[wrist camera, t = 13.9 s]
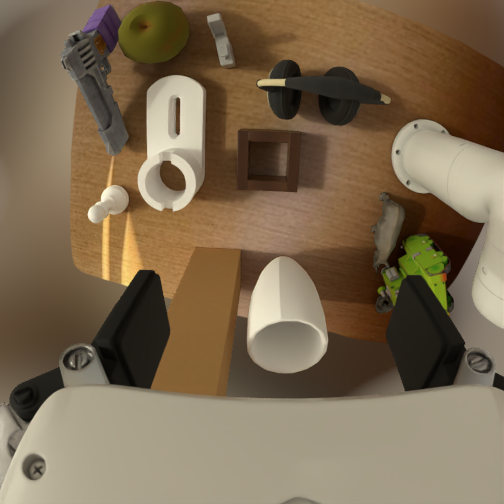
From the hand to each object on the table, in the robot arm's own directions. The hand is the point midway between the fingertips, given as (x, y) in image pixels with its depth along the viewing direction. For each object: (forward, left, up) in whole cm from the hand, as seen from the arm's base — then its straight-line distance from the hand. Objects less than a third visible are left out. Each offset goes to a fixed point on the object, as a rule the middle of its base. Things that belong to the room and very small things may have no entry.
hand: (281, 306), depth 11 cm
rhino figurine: (-19, +13, -38) cm, 45 cm away
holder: (0, +2, -38) cm, 38 cm away
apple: (+17, -18, -39) cm, 46 cm away
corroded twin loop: (-25, +26, -39) cm, 53 cm away
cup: (-3, +19, -39) cm, 43 cm away
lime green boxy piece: (-31, +16, -32) cm, 47 cm away
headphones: (-5, -9, -39) cm, 40 cm away
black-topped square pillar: (+8, +21, -38) cm, 45 cm away
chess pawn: (+26, +9, -39) cm, 47 cm away
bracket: (+15, -1, -39) cm, 41 cm away
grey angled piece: (+7, -16, -39) cm, 42 cm away
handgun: (+25, -17, -42) cm, 51 cm away
